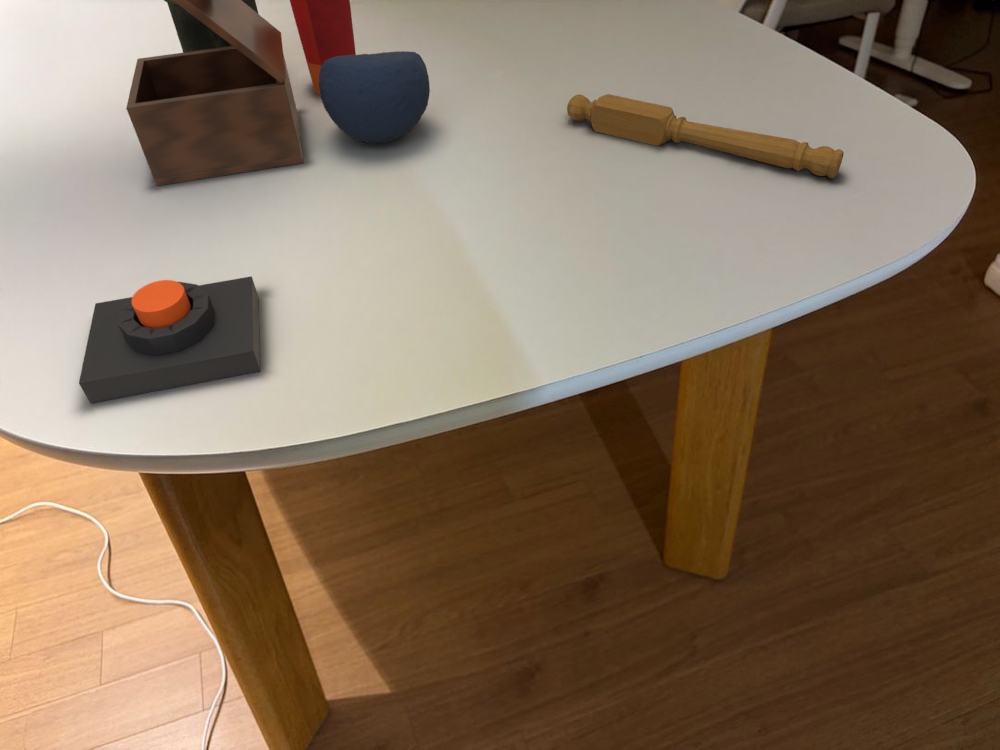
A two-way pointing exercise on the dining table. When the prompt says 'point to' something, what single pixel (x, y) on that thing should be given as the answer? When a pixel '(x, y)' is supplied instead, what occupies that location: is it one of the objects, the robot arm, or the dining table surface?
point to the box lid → (242, 31)
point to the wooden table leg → (698, 133)
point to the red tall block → (323, 32)
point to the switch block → (173, 343)
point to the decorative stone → (375, 93)
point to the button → (161, 303)
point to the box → (212, 115)
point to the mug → (197, 29)
